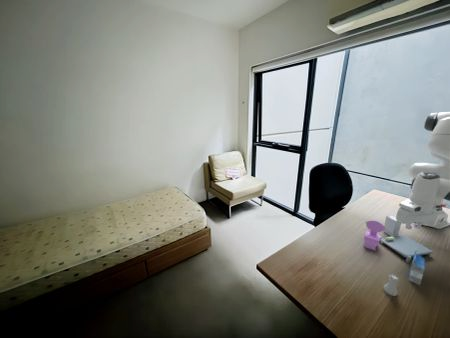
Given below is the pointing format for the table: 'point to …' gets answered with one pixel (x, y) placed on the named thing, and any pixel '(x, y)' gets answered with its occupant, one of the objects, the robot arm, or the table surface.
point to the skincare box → (392, 226)
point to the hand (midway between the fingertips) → (412, 228)
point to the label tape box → (417, 269)
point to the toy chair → (373, 234)
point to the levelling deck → (405, 246)
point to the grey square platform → (409, 256)
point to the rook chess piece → (391, 285)
